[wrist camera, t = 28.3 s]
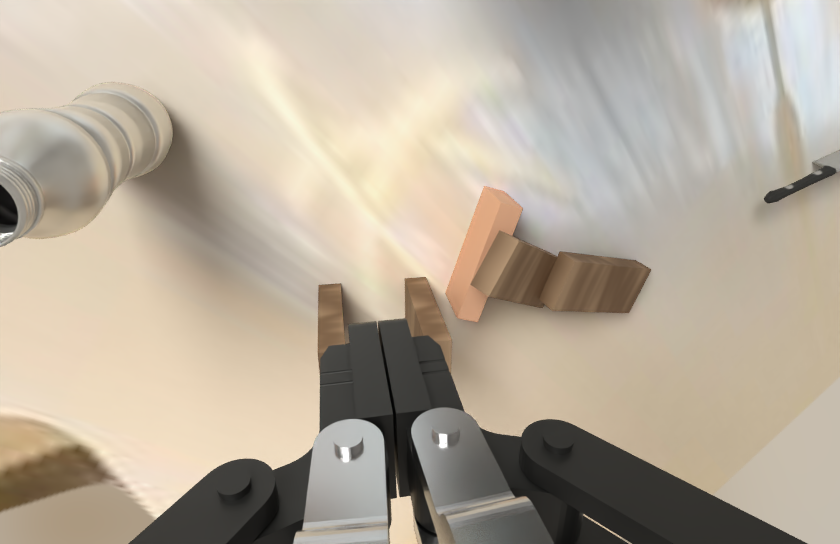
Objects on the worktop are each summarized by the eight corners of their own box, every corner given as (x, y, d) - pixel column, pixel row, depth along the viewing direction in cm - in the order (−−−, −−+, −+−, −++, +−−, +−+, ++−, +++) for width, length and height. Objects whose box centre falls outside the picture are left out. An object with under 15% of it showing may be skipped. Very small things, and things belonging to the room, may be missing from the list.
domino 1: (340, 283, 47) (345, 350, 37) (344, 329, 49) (349, 404, 40) (318, 285, 47) (317, 353, 37) (323, 331, 49) (323, 407, 39)
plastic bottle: (198, 124, 39) (96, 204, 22) (143, 185, 41) (4, 309, 23) (121, 58, 37) (-67, 87, 19) (65, 126, 38) (-162, 214, 20)
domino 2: (425, 277, 48) (451, 340, 39) (425, 322, 51) (450, 393, 41) (404, 278, 48) (425, 342, 38) (405, 324, 50) (425, 395, 41)
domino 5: (651, 269, 50) (574, 261, 44) (628, 313, 52) (552, 310, 46) (635, 260, 52) (559, 251, 46) (614, 302, 54) (538, 299, 48)
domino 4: (568, 262, 49) (519, 240, 40) (542, 308, 49) (488, 296, 41) (551, 253, 50) (499, 230, 41) (525, 297, 51) (470, 284, 42)
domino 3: (463, 296, 50) (503, 191, 46) (477, 322, 46) (523, 208, 42) (445, 292, 50) (483, 185, 46) (457, 318, 45) (501, 202, 41)
